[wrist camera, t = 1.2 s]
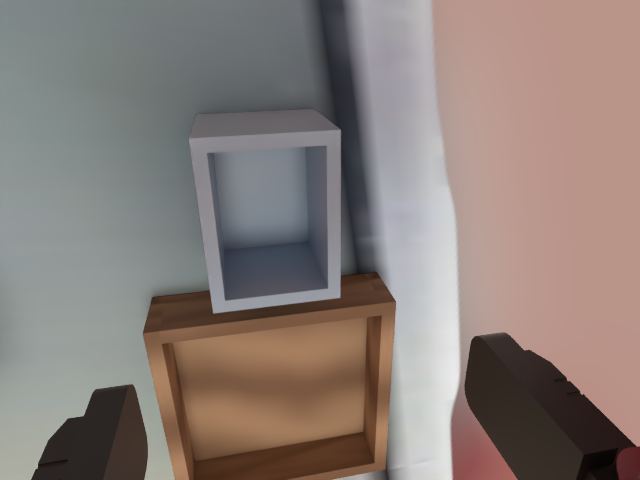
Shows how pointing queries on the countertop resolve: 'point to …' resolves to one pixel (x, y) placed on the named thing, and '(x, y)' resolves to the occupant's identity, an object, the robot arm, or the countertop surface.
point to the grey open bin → (268, 206)
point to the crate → (275, 384)
